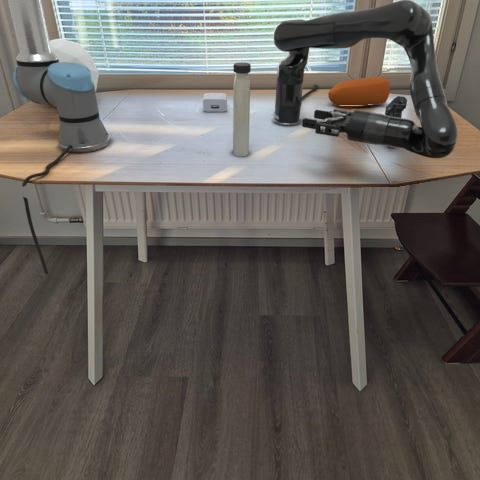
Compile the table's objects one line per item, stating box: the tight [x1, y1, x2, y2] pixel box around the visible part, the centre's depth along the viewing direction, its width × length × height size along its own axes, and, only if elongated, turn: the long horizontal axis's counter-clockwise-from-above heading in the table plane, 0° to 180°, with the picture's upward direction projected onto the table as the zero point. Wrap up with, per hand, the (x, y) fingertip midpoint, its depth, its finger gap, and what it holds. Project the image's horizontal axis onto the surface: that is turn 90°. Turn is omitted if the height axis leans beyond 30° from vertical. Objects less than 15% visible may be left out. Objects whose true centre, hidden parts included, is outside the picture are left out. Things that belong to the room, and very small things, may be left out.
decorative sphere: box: [49, 37, 100, 93], centre depth 157 cm, size 24×25×25 cm
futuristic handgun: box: [384, 95, 408, 118], centre depth 138 cm, size 4×29×15 cm, turn 164°
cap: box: [233, 61, 252, 74], centre depth 111 cm, size 5×5×2 cm
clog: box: [327, 76, 391, 109], centre depth 165 cm, size 12×11×25 cm
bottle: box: [232, 73, 251, 157], centre depth 118 cm, size 5×5×25 cm
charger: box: [202, 92, 228, 113], centre depth 163 cm, size 5×9×15 cm
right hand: (308, 117), depth 108 cm, fingers open, 8 cm apart
